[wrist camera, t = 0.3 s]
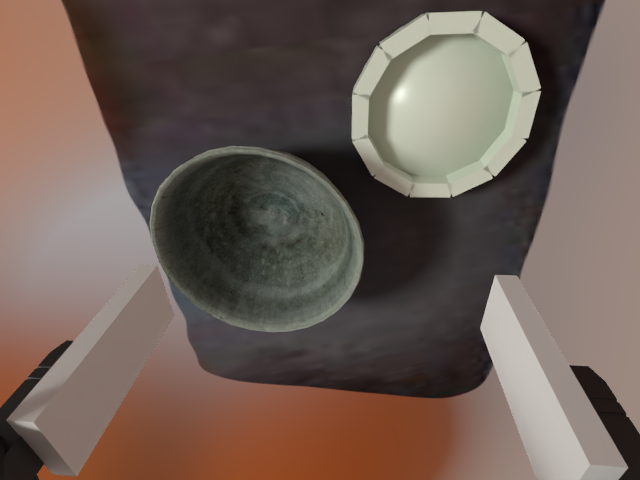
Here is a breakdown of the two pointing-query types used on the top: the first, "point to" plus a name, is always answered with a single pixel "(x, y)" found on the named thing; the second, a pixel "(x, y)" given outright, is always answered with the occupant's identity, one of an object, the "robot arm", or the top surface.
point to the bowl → (257, 238)
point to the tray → (444, 103)
